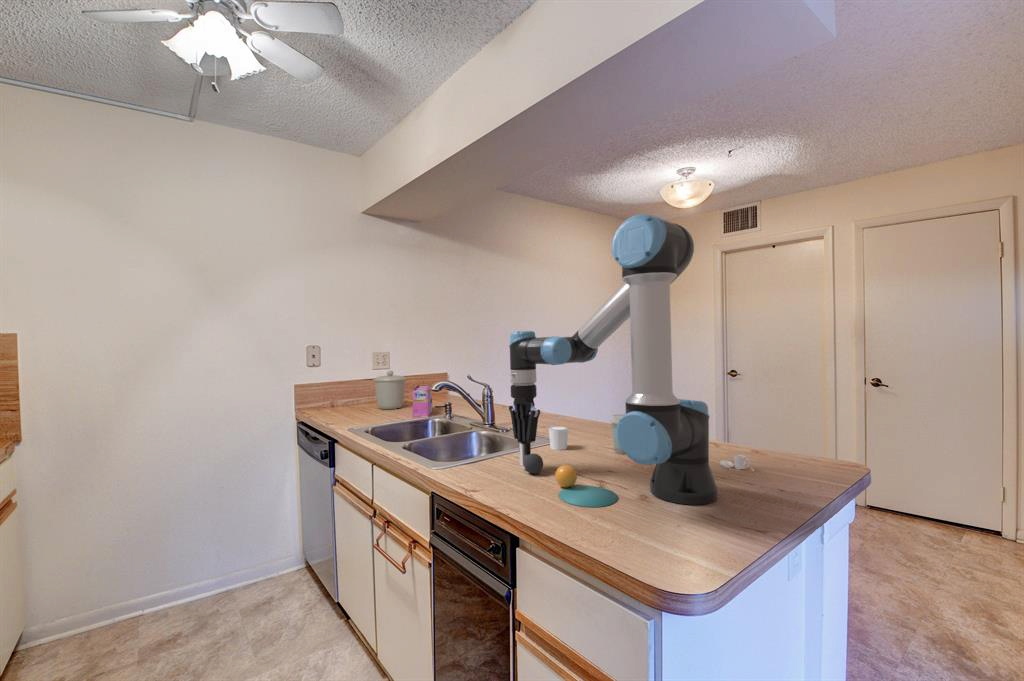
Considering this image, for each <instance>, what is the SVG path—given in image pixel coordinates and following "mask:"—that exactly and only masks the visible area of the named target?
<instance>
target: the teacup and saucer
mask: <svg viewBox="0 0 1024 681" xmlns="http://www.w3.org/2000/svg"><path fill="white" fill-rule="evenodd" d="M746 456H747V455H743V454H733V462H734V463H733V462H731V461H730V460H725V459H724V460H721V461H720V463H719V464H720V465H721V466H722V467H728V468H729V469H733V468H735V469H736V468H737V469H736V470H738V469H744V470H745V469H748V468H747V467H750V466H749V465H750V464H751V461H750V459H749V458H747V457H746ZM747 461H748V464H747ZM746 464H747V465H746ZM734 465H735V466H734ZM745 466H747V467H745ZM732 467H733V468H732Z"/></svg>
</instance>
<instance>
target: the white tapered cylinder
mask: <svg viewBox="0 0 1024 681" xmlns="http://www.w3.org/2000/svg"><path fill="white" fill-rule="evenodd" d="M548 435H549V436H548V437H549V444H550V446H549V447H550V449H551V450H553V451H564V450H567V448H568V438H569V427H566V426H560V425H559V426H550V427H548Z"/></svg>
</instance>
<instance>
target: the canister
mask: <svg viewBox="0 0 1024 681" xmlns="http://www.w3.org/2000/svg"><path fill="white" fill-rule="evenodd" d="M372 380H373V381H374V387H375V388H374V389H375V398H376V403H377V404H376V405H377V407H378V408H379V409H381V410H398V409H401V408H402V407H403V404H404V401H405V400H404V399H405V388H406V380H407V377H405V376H403V375H397V374H396V375H394V371H393V370H387V372H386V375H381V376H380V375H379V376H377V377H375V378H374V379H372ZM397 408H398V409H397Z"/></svg>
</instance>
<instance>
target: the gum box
mask: <svg viewBox="0 0 1024 681" xmlns="http://www.w3.org/2000/svg"><path fill="white" fill-rule="evenodd" d="M431 388H432V389H433V385H432V384H429V385H428V386H426V385H424V386H423V385H422V386H421V385H416V387H415V388H413V390H412V418H421V417H420V416H428V417H429V416H430V415H429V414H431V413H432V412H433V390H432V391H431Z"/></svg>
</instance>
